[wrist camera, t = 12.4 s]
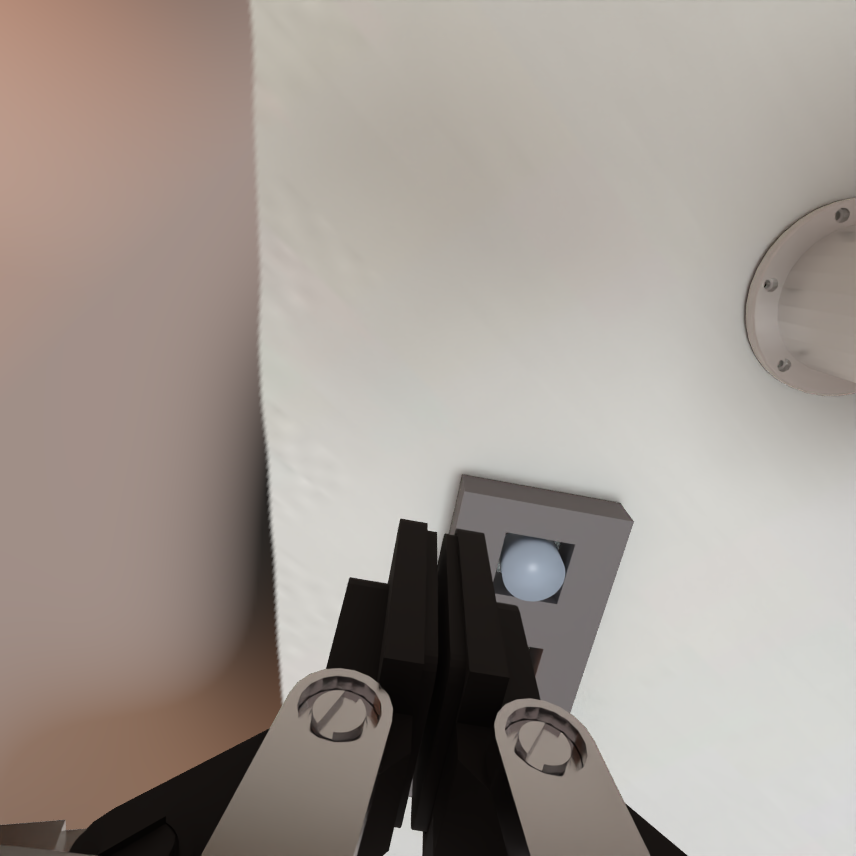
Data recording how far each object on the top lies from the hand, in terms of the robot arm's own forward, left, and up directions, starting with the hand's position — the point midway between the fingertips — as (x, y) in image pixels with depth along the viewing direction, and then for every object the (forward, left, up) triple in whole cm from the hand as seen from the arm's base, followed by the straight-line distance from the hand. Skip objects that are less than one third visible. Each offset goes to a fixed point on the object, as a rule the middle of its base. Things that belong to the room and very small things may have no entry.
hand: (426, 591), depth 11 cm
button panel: (-10, +23, -29) cm, 38 cm away
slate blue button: (-10, +14, -28) cm, 33 cm away
